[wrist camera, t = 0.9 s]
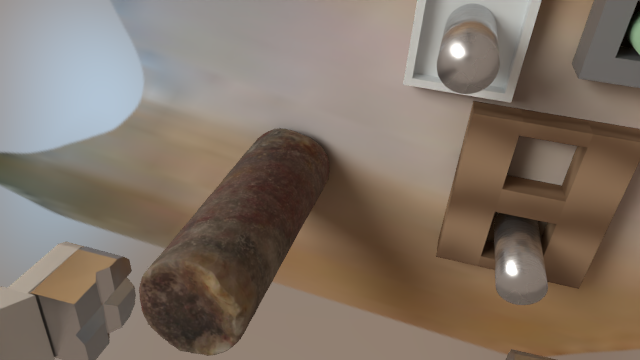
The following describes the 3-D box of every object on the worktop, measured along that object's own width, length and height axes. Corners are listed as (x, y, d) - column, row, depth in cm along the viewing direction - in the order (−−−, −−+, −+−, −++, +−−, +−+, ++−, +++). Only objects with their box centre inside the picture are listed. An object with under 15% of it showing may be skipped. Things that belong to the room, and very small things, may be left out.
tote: (426, -46, 36) (424, -42, 34) (546, -31, 34) (549, -27, 33) (405, 77, 41) (403, 84, 39) (510, 94, 39) (511, 102, 38)
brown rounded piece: (243, 171, 49) (125, 325, 33) (265, 108, 45) (142, 248, 29) (315, 205, 49) (232, 377, 33) (343, 145, 45) (264, 308, 29)
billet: (450, 0, 36) (443, 30, 30) (502, 7, 36) (507, 39, 29) (440, 49, 38) (431, 88, 32) (489, 57, 38) (491, 98, 31)
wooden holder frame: (473, 101, 40) (473, 113, 38) (639, 128, 38) (647, 143, 36) (438, 240, 48) (436, 256, 46) (574, 270, 45) (578, 288, 44)
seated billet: (499, 203, 44) (502, 262, 37) (543, 212, 43) (554, 274, 37) (489, 235, 46) (490, 298, 39) (531, 244, 45) (539, 309, 39)
